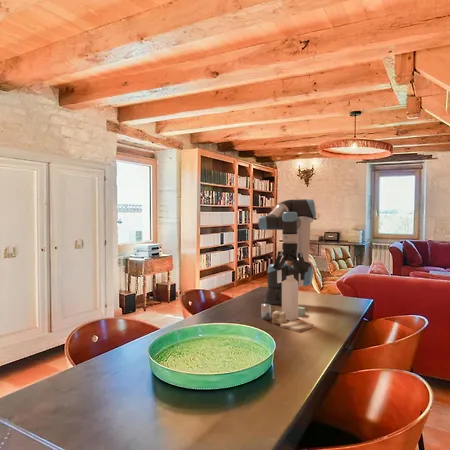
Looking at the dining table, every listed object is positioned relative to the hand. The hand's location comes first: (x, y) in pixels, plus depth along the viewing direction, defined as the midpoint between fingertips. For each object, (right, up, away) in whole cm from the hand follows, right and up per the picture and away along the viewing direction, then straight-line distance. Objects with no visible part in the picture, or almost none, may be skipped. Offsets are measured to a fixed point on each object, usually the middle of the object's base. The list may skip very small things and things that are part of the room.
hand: (289, 284), depth 188 cm
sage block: (+5, -17, +9) cm, 20 cm away
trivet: (+1, -18, -13) cm, 22 cm away
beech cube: (-6, -18, -5) cm, 20 cm away
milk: (0, -18, +1) cm, 18 cm away
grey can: (-12, -18, +2) cm, 21 cm away
